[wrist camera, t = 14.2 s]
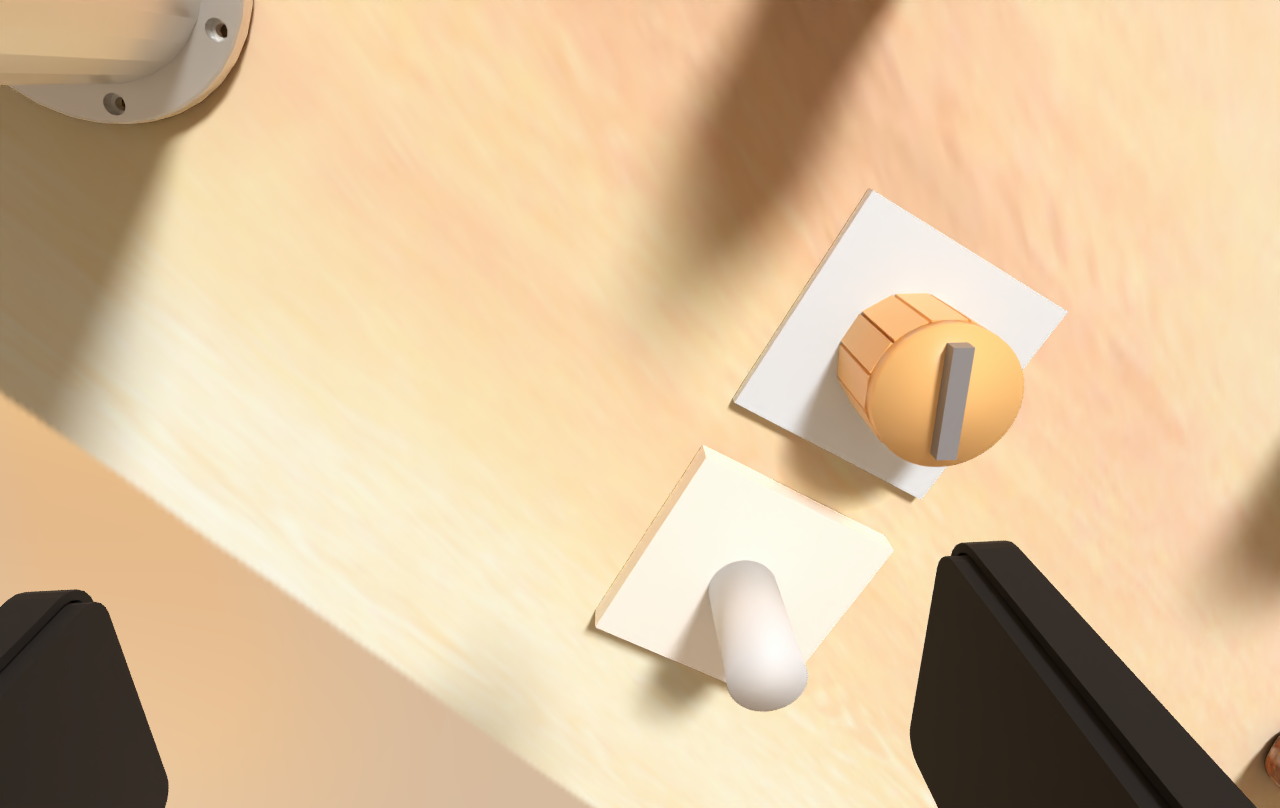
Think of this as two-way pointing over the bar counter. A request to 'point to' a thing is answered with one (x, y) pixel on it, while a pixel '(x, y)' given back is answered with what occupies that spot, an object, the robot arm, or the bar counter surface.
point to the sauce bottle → (1274, 762)
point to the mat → (839, 291)
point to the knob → (929, 379)
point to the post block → (741, 580)
